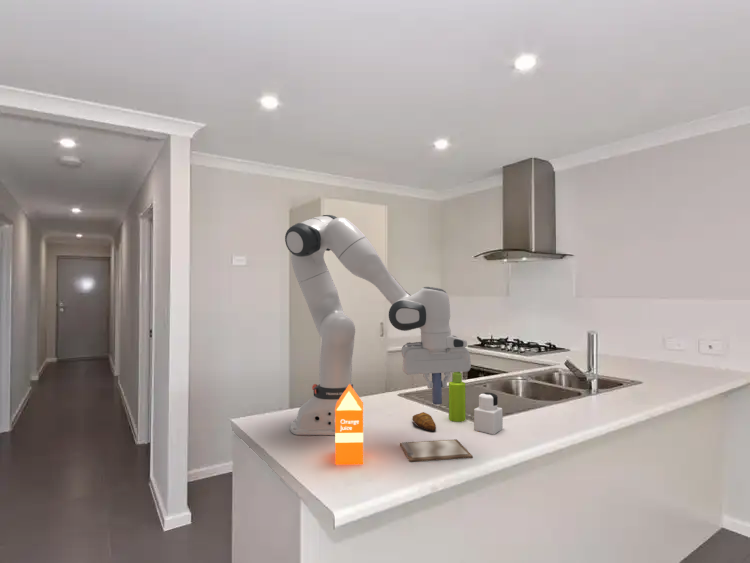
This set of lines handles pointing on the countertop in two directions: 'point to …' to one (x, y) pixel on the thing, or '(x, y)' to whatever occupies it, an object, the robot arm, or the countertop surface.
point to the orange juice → (349, 429)
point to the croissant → (424, 421)
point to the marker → (437, 388)
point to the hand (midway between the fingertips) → (437, 387)
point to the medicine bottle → (488, 414)
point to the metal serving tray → (434, 450)
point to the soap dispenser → (457, 398)
